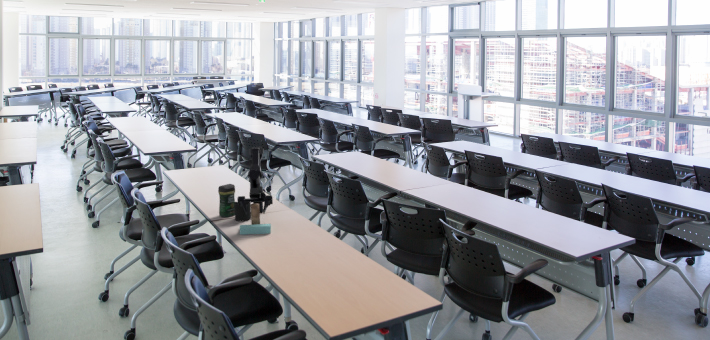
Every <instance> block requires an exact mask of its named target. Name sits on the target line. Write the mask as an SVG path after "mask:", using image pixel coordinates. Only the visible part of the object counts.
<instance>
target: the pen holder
mask: <svg viewBox="0 0 710 340" xmlns="http://www.w3.org/2000/svg"><path fill="white" fill-rule="evenodd" d="M251 204H252V203H251V202H246V209H247V215H246V213H245V210H244V208H243V207H241V206H240V205H238V201H235V202H234V211H235V215H234V219H235V220H236V221H237V222H246V221H249V220H251Z"/></svg>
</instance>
